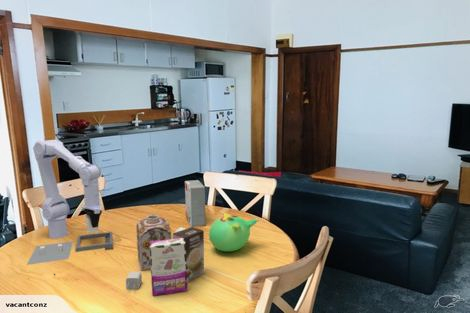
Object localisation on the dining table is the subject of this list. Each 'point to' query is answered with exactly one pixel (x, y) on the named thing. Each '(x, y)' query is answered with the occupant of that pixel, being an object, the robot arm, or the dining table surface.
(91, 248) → the parts tray
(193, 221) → the hard drive box
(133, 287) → the usb wall charger
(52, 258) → the panel
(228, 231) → the toy bird
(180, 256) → the candy bar box
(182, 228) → the seamed sphere
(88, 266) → the dining table surface
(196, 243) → the coffee box
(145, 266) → the decorative jar
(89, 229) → the block
